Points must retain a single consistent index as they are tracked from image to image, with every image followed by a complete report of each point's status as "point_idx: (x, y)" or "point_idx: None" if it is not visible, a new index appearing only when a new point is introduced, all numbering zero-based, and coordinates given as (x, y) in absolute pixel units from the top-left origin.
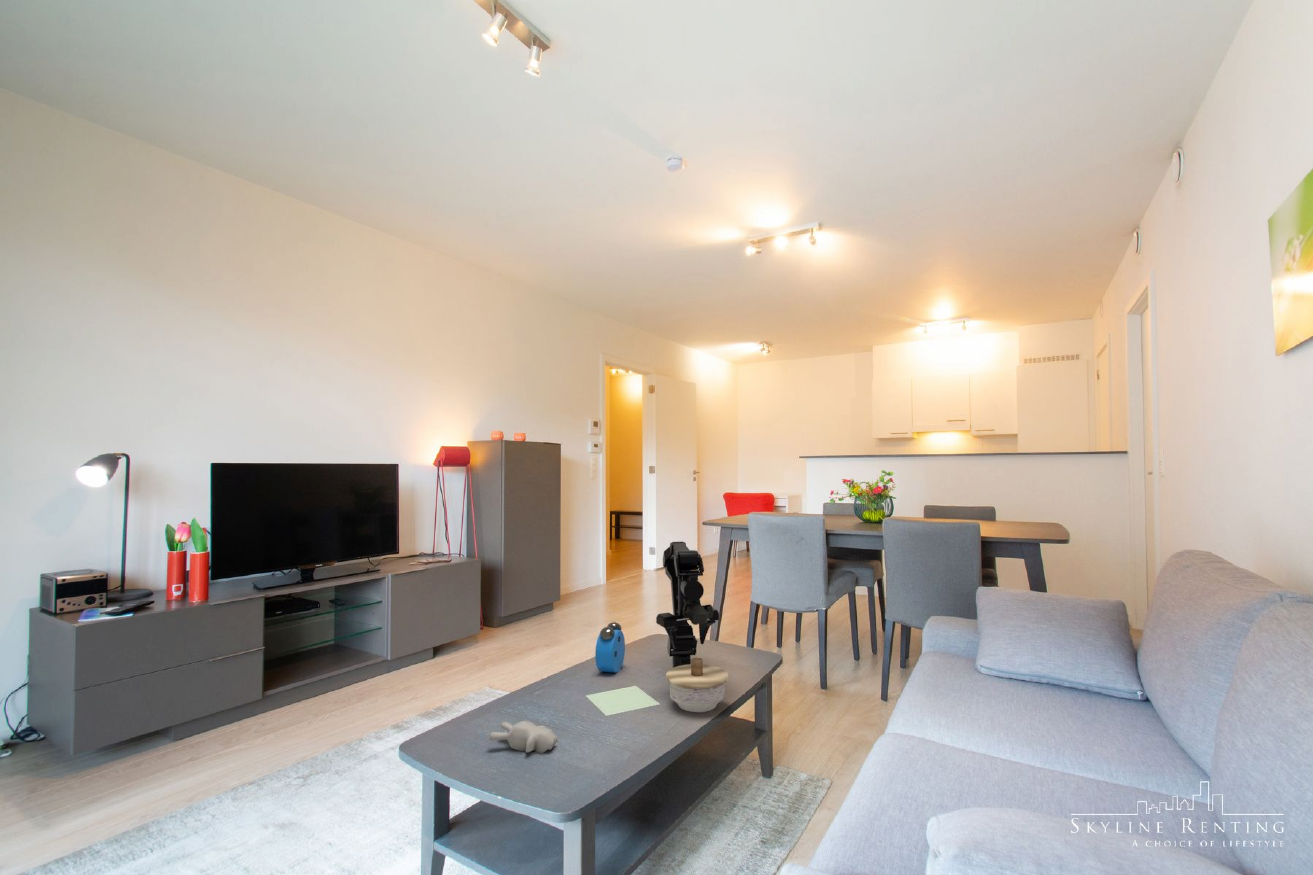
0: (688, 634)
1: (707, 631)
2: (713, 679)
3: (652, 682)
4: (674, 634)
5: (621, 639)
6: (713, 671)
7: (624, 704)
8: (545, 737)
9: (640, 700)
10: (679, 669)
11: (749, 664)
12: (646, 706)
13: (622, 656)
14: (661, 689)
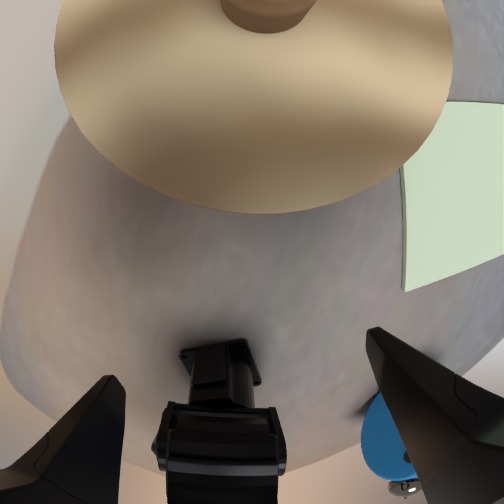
0: (193, 477)
1: (38, 442)
2: None
3: (339, 320)
4: (468, 409)
5: (392, 460)
6: (126, 30)
7: (478, 153)
8: None
9: (439, 164)
10: (359, 130)
11: (36, 363)
12: None
13: (373, 426)
14: (336, 257)
